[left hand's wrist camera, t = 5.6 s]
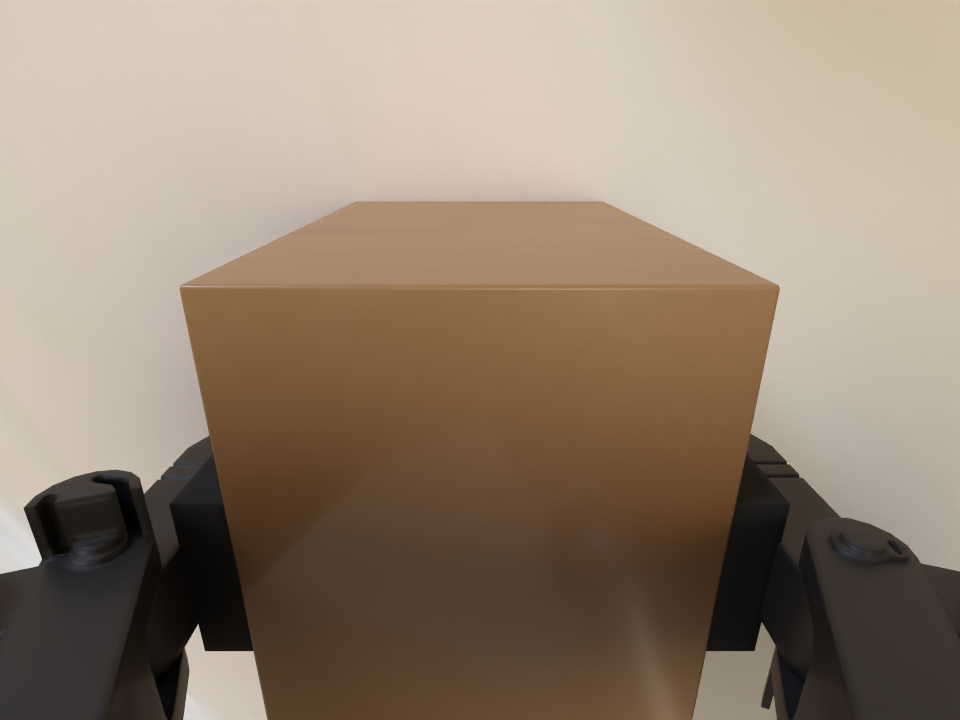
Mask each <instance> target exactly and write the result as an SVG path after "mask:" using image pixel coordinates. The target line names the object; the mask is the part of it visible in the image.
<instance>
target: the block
mask: <svg viewBox="0 0 960 720" xmlns="http://www.w3.org/2000/svg"><path fill="white" fill-rule="evenodd" d="M779 290H780V289H779V286H778V285H776V284H774V283H772V282H770V281H768V280H766V279H764V278H762V277H760V276H758V275H755V274H753V273H751V272H749V271H747V270H745V269H743V268H741V267H739V266H737V265H735V264H732V263H730V262H728V261H726V260H724V259H722V258H720V257H718V256H716V255H714V254H712V253H709V252H707V251H705V250H703V249H701V248H699V247H697V246H695V245H693V244H691V243H689V242H686V241H684V240H682V239H680V238H678V237H676V236H674V235H672V234H670V233H668V232H666V231H663V230H661V229H659V228H657V227H655V226H653V225H651V224H649V223H647V222H645V221H643V220H640V219H638V218H636V217H634V216H632V215H630V214H628V213H626V212H624V211H622V210H620V209H617V208H615V207H613V206H611V205H609V204H607V203H605V202H355V203H353V204H351V205H349V206H346V207H344V208H342V209H340V210H338V211H336V212H334V213H332V214H330V215H328V216H325V217H323V218H321V219H319V220H317V221H315V222H313V223H311V224H309V225H307V226H305V227H302V228H300V229H298V230H296V231H294V232H292V233H290V234H288V235H286V236H284V237H282V238H279V239H277V240H275V241H273V242H271V243H269V244H267V245H265V246H263V247H261V248H258V249H256V250H254V251H252V252H250V253H248V254H246V255H244V256H242V257H240V258H238V259H235V260H233V261H231V262H229V263H227V264H225V265H223V266H221V267H219V268H217V269H215V270H212V271H210V272H208V273H206V274H204V275H202V276H200V277H198V278H196V279H194V280H191V281H189V282H187V283H185V284H183V285H181V286H180V293H181V297H182V302H183V307H184V312H185V317H186V322H187V327H188V332H189V337H190V342H191V346H192V351H193V356H194V361H195V366H196V371H197V376H198V381H199V386H200V391H201V396H202V400H203V405H204V410H205V415H206V420H207V425H208V430H209V435H210V440H211V445H212V449H213V454H214V459H215V464H216V469H217V474H218V479H219V484H220V489H221V494H222V498H223V503H224V508H225V513H226V518H227V523H228V528H229V533H230V538H231V543H232V548H233V552H234V557H235V562H236V567H237V572H238V577H239V582H240V587H241V592H242V597H243V601H244V606H245V611H246V616H247V621H248V626H249V631H250V636H251V641H252V646H253V650H254V655H255V660H256V665H257V670H258V675H259V680H260V685H261V690H262V695H263V700H264V704H265V709H266V714H267V719H268V720H692V717H693V712H694V707H695V702H696V698H697V693H698V688H699V683H700V678H701V673H702V668H703V663H704V658H705V653H706V648H707V643H708V639H709V634H710V629H711V624H712V619H713V614H714V609H715V604H716V599H717V594H718V589H719V585H720V580H721V575H722V570H723V565H724V560H725V555H726V550H727V545H728V540H729V535H730V530H731V526H732V521H733V516H734V511H735V506H736V501H737V496H738V491H739V486H740V481H741V476H742V472H743V467H744V462H745V457H746V452H747V447H748V442H749V437H750V432H751V427H752V422H753V417H754V413H755V408H756V403H757V398H758V393H759V388H760V383H761V378H762V373H763V368H764V363H765V359H766V354H767V349H768V344H769V339H770V334H771V329H772V324H773V319H774V314H775V309H776V304H777V300H778V295H779Z"/></svg>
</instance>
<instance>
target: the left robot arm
mask: <svg viewBox="0 0 960 720" xmlns="http://www.w3.org/2000/svg"><path fill="white" fill-rule="evenodd" d="M24 511H25V513H26V516H27V519H28V522H29V524H30V527H31V530H32V533H33V535H34V538H35V541H36V544H37V546H38V549H39V552H40V555H41V557H42V561H41V563H40V565H39V566H37V567H33V568H28V569H23V570H18V571H13V572H9V573H4V574H0V720H183V716H184V708H185V701H186V693H187V685H188V678H189V665H188V659H187V655H186V651H185V646H186V644H187V642H188V640H189V639H190V637H191V635H192V634H193V632H194V630H195V628H196V627H197V625H198V624H199V628H200V632H201V636H202V640H203V644H204V648H205V651H254V650H253V646H252V641H251V636H250V631H249V626H248V621H247V616H246V611H245V606H244V601H243V597H242V592H241V587H240V582H239V577H238V572H237V567H236V562H235V557H234V552H233V548H232V543H231V538H230V533H229V528H228V523H227V518H226V513H225V508H224V503H223V498H222V494H221V489H220V484H219V479H218V474H217V469H216V464H215V459H214V454H213V449H212V445H211V440H210V436H208V437H206V438H205V439H203V440H201V441H199V442H198V443H196V444H194V445H193V446H191V447H189V448H188V449H187V450H186V451H185V452H184V453H183V454H182V455H181V456H180V457H179V458H178V459H177V460H176V461H175V462H174V463H173V467H170V468H169V469H168V470H167V471H166V472H165V473H164V474H163V475H162V476H161V480H157V481H156V482H155V483H154V484H153V485H152V486H151V488H150V489H149V490H148V491H147V492H146V493H145V494H144V493H143V489H142V485H141V482H140V478H139V477H137V476H136V475H134V474H133V473H132V472H127V471H120V470H108V471H96V472H92V473H88V474H84V475H80V476H76V477H73V478H70V479H68V480H65V481H63V482H60V483H58V484H55V485H53V486H51V487H50V488H48V489H46V490H45V491H43V492H41V493H40V494H38V495H37V496H35V497H34V498H33V499H32V500H31V501H30V502H29V503H28V504H27V505H26V506H25V507H24ZM761 622H762V623H763V624H764V626H765V628H766V630H767V631H768V633H769V635H770V636H771V638H772V640H773V641H774V643H775V645H776V647H775V651H774V655H773V659H772V662H771V666H770V670H769V674H768V677H767V681H766V685H765V689H764V693H763V698H762V704H761V707H763V708H767V709H769V708H770V705H771V701H772V697H773V696H774V699H775V707H776V714H777V720H960V572H959V571H954V570H949V569H945V568H940V567H935V566H930V565H925V564H921V563H920V562H919V560H918V558H917V557H916V556H915V554H914V553H913V552H912V551H911V549H910V548H909V547H908V546H907V545H906V544H904V543H903V542H901V541H900V540H899V539H897V538H896V537H894V536H893V535H892V534H890V533H888V532H886V531H884V530H881V529H879V528H877V527H875V526H873V525H871V524H867V523H864V522H860V521H857V520H853V519H850V518H840V517H839V515H838V514H837V513H836V512H835V511H834V510H833V509H832V508H831V507H830V506H829V505H828V504H827V503H826V502H825V501H824V500H823V499H822V498H821V497H820V496H819V495H818V494H817V493H816V492H815V490H814V489H813V488H812V487H811V486H810V485H809V484H808V483H807V482H806V481H805V480H804V479H803V478H799V474H798V473H797V472H796V471H795V470H794V469H793V468H792V467H791V466H790V465H787V461H786V460H785V459H784V458H783V457H782V456H781V455H780V454H779V453H778V452H777V451H776V450H775V449H774V448H773V447H772V446H771V445H769V444H767V443H766V442H764V441H762V440H760V439H759V438H757V437H755V436H753V435H752V434H750V437H749V442H748V447H747V452H746V457H745V462H744V467H743V472H742V476H741V481H740V486H739V491H738V496H737V501H736V506H735V511H734V516H733V521H732V526H731V530H730V535H729V540H728V545H727V550H726V555H725V560H724V565H723V570H722V575H721V580H720V585H719V589H718V594H717V599H716V604H715V609H714V614H713V619H712V624H711V629H710V634H709V639H708V643H707V648H706V651H754V650H755V646H756V642H757V638H758V634H759V630H760V626H761Z"/></svg>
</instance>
